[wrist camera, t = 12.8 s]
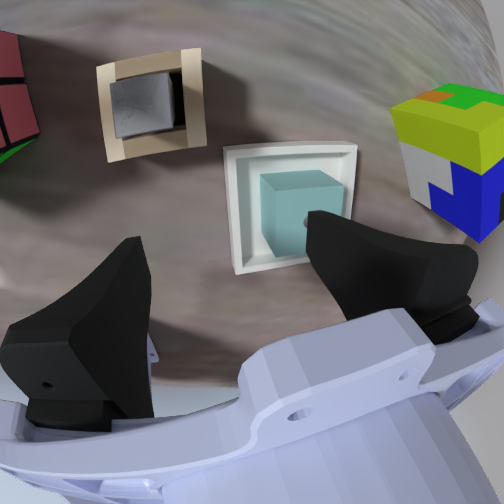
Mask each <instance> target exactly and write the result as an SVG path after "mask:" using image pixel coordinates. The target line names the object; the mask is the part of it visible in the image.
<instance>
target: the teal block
mask: <svg viewBox="0 0 504 504" xmlns="http://www.w3.org/2000/svg"><path fill="white" fill-rule="evenodd" d="M343 193H344V185H343V184H341V183H340V182H338V181H337V180H335V179H334V178H332V177H330V176H329V175H327V174H326V173H324V172H322V171H321V170H304V171H290V172H278V173H266V174H260V208H261V233H262V235H263V236H264V238H265V240H266V242H267V243H268V245H269V247H270V249H271V250H272V252H273V254H274V256H275V257H282V256H288V255H294V254H300V253H306V236H307V220H308V211H316V210H323V211H327V212H330V213H333V214H336V215H339V216H341V213H342V203H343Z"/></svg>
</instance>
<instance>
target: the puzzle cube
mask: <svg viewBox="0 0 504 504" xmlns="http://www.w3.org/2000/svg"><path fill="white" fill-rule="evenodd" d="M24 78H25V76H24V72H23V67H22V62H21V56H20V50H19V44H18V37H17V34H14V33H9V32H5V31H1V30H0V163H2V162H3V161H5V160H6V159H7V158H9V157H10V156H11V155H13V154H14V153H16V152H17V151H19V150H20V149H22V148H23V147H24V146H26V145H27V144H29V143H31V142H32V141H34V140H35V139H37V138H38V136H39V133H40V131H39V128H38V125H37V122H36V118H35V115H34V112H33V108H32V105H31V101H30V97H29V93H28V89H27V85H26V84H25V83H23V80H24Z"/></svg>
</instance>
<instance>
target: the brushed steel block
mask: <svg viewBox="0 0 504 504" xmlns="http://www.w3.org/2000/svg"><path fill="white" fill-rule="evenodd" d="M109 85H110V96H111V105H112V114H113V122H114V129H115V136H116V139H118V138H123V137H128V136H132V135H137V134H142V133H148V132H153V131H159V130H165V129H171V128H173V127H174V126H173V123H174V120H175V118H176V111H175V99H174V86H173V82H172V80H171V78H170V77H169V72H163V73H157V74H151V75H146V76H141V77H136V78H131V79H126V80H122V81H118V82H114V83H110V84H109Z"/></svg>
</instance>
